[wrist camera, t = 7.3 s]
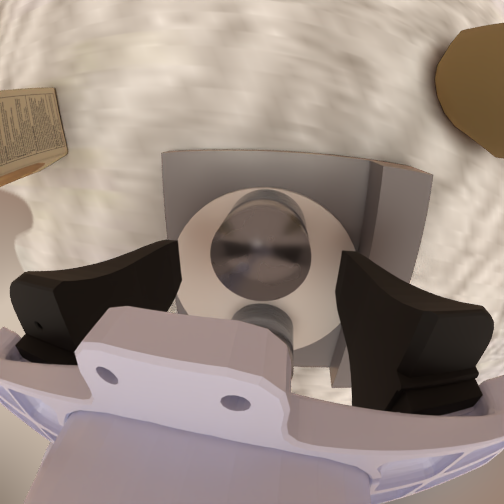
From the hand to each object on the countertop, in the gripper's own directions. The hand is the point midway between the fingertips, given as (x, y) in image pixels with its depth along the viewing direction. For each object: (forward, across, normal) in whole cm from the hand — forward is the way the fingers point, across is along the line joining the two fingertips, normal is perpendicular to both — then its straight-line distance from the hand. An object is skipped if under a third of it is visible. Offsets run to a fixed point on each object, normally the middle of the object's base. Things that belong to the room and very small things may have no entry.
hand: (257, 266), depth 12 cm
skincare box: (+6, +18, -8) cm, 20 cm away
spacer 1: (+4, 0, 0) cm, 4 cm away
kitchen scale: (+6, -1, +4) cm, 7 cm away
